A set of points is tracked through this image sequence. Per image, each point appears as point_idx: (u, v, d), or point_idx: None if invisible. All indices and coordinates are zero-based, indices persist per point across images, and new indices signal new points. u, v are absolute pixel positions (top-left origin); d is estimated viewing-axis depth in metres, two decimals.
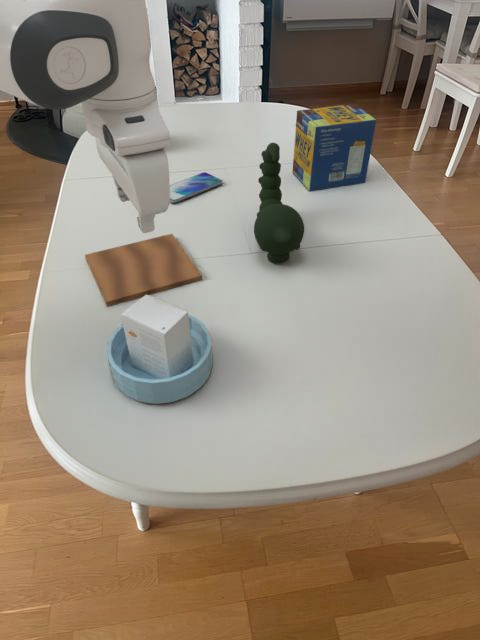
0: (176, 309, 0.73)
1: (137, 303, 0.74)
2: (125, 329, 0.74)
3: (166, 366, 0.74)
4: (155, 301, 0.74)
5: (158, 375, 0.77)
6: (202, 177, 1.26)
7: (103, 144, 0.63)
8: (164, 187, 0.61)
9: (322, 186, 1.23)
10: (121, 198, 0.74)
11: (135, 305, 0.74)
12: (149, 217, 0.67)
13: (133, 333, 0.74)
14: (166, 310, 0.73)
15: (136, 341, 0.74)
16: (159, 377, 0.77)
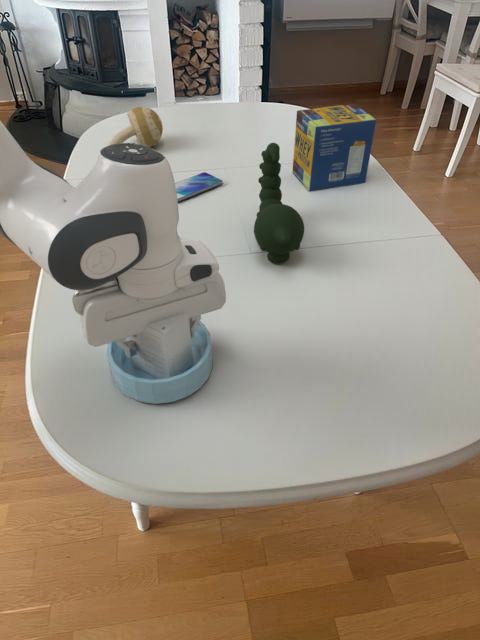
0: None
1: None
2: None
3: (166, 366, 0.74)
4: None
5: (158, 375, 0.77)
6: (202, 177, 1.26)
7: (166, 296, 0.68)
8: None
9: (322, 186, 1.23)
10: (136, 352, 0.75)
11: None
12: None
13: None
14: None
15: (136, 341, 0.74)
16: (159, 377, 0.77)
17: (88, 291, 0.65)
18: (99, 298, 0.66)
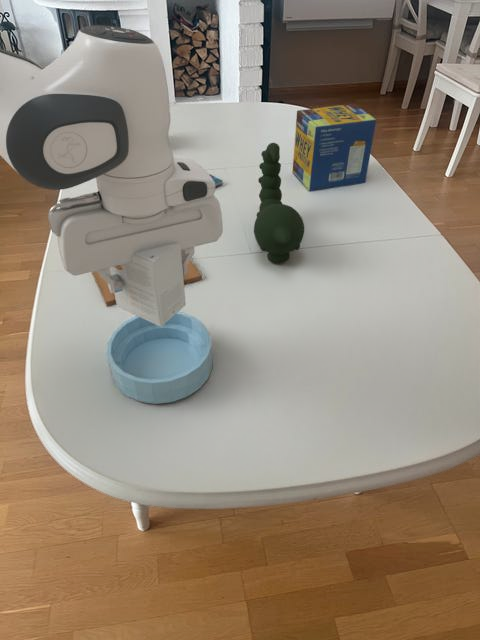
0: None
1: None
2: None
3: (154, 303, 0.66)
4: None
5: (146, 315, 0.69)
6: None
7: (156, 218, 0.60)
8: None
9: (322, 186, 1.23)
10: (122, 288, 0.67)
11: None
12: None
13: (118, 266, 0.66)
14: None
15: (122, 275, 0.66)
16: (147, 318, 0.69)
17: (66, 206, 0.57)
18: (78, 215, 0.58)
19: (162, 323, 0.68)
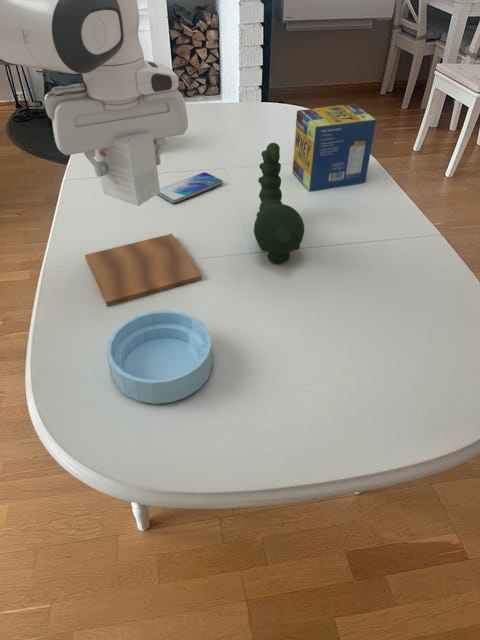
0: None
1: None
2: (95, 150, 0.81)
3: (132, 183, 0.81)
4: None
5: (126, 197, 0.84)
6: (202, 177, 1.26)
7: (130, 105, 0.75)
8: None
9: (322, 186, 1.23)
10: None
11: None
12: None
13: (102, 152, 0.81)
14: None
15: (106, 161, 0.81)
16: (127, 199, 0.84)
17: (58, 93, 0.72)
18: (68, 101, 0.73)
19: (140, 203, 0.83)
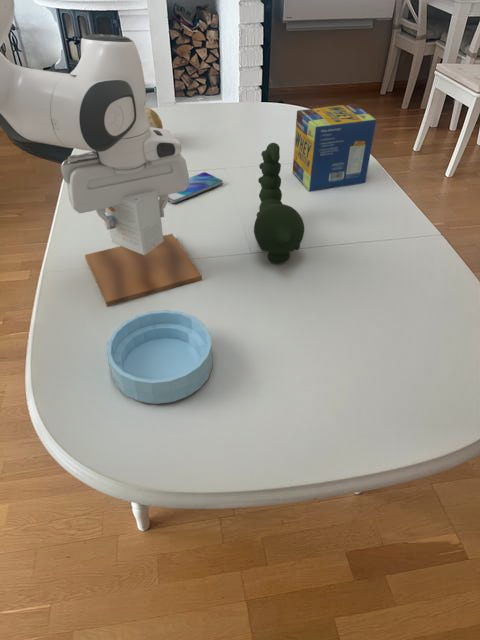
0: None
1: None
2: None
3: (139, 236, 0.89)
4: None
5: (133, 247, 0.92)
6: (202, 177, 1.26)
7: (138, 170, 0.83)
8: None
9: (322, 186, 1.23)
10: None
11: None
12: None
13: (112, 208, 0.89)
14: None
15: (115, 215, 0.90)
16: (134, 249, 0.92)
17: (73, 161, 0.80)
18: (82, 167, 0.81)
19: (145, 253, 0.92)
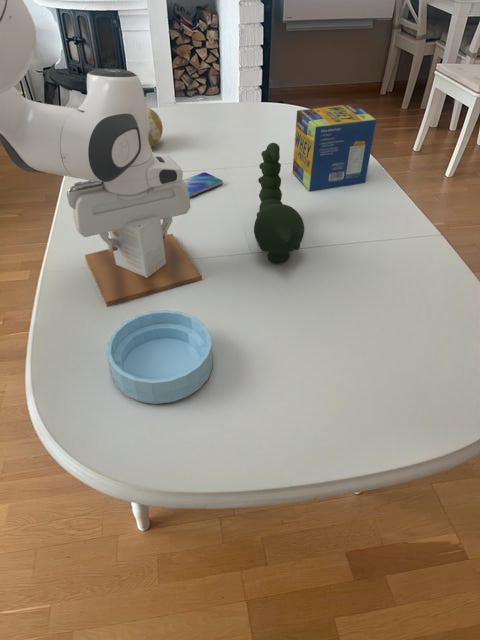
0: None
1: None
2: None
3: (142, 260, 0.93)
4: None
5: (136, 270, 0.95)
6: (202, 177, 1.26)
7: (141, 195, 0.86)
8: None
9: (322, 186, 1.23)
10: (117, 247, 0.93)
11: None
12: None
13: (116, 233, 0.92)
14: None
15: (119, 240, 0.93)
16: (137, 272, 0.96)
17: (79, 187, 0.84)
18: (87, 193, 0.84)
19: (148, 275, 0.95)
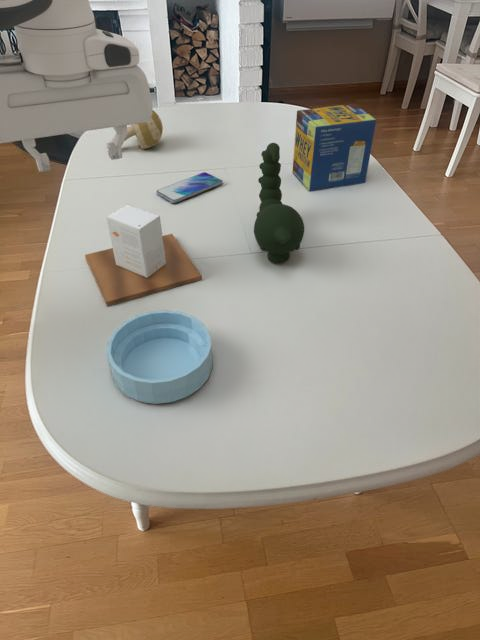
0: (150, 214, 0.92)
1: (120, 210, 0.93)
2: (110, 230, 0.93)
3: (142, 260, 0.93)
4: (134, 208, 0.93)
5: (136, 270, 0.95)
6: (202, 177, 1.26)
7: (79, 83, 0.61)
8: None
9: (322, 186, 1.23)
10: (50, 166, 0.67)
11: (118, 211, 0.93)
12: None
13: (116, 233, 0.92)
14: (142, 214, 0.92)
15: (119, 240, 0.93)
16: (137, 272, 0.96)
17: None
18: None
19: (148, 275, 0.95)
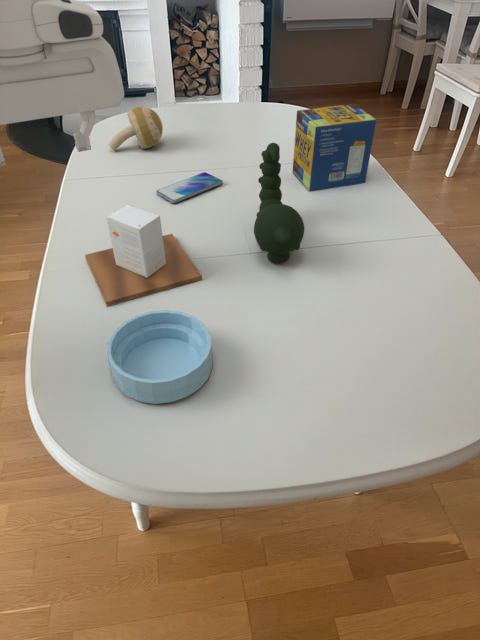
0: (150, 214, 0.92)
1: (120, 210, 0.93)
2: (110, 230, 0.93)
3: (142, 260, 0.93)
4: (134, 208, 0.93)
5: (136, 270, 0.95)
6: (202, 177, 1.26)
7: (30, 59, 0.50)
8: None
9: (322, 186, 1.23)
10: None
11: (118, 211, 0.93)
12: None
13: (116, 233, 0.92)
14: (142, 214, 0.92)
15: (119, 240, 0.93)
16: (137, 272, 0.96)
17: None
18: None
19: (148, 275, 0.95)
